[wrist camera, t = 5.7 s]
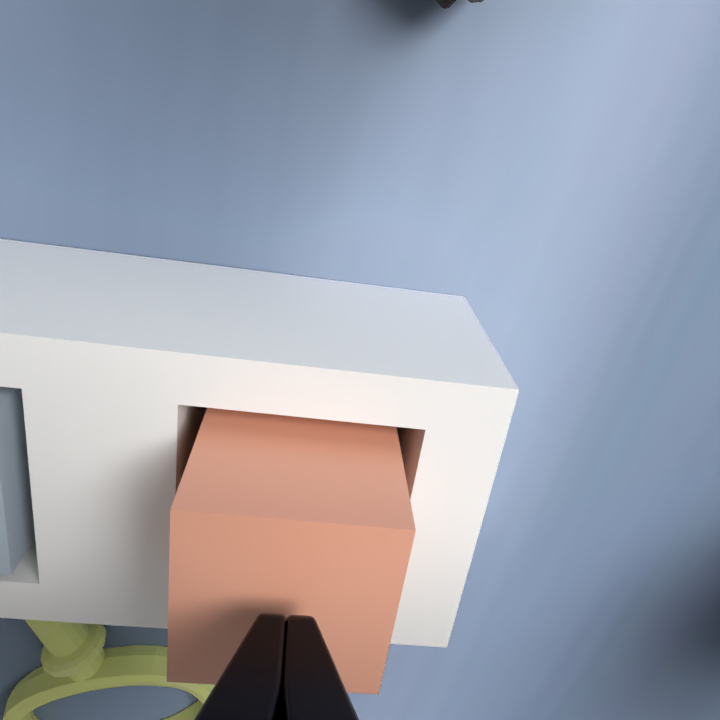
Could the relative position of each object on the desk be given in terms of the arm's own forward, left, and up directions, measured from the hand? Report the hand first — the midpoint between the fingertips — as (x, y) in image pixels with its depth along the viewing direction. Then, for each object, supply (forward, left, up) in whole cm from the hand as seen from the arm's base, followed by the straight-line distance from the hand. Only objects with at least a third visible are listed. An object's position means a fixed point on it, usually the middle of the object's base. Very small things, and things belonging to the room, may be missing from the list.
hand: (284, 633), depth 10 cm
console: (0, +4, -8) cm, 8 cm away
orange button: (0, 0, -5) cm, 5 cm away
